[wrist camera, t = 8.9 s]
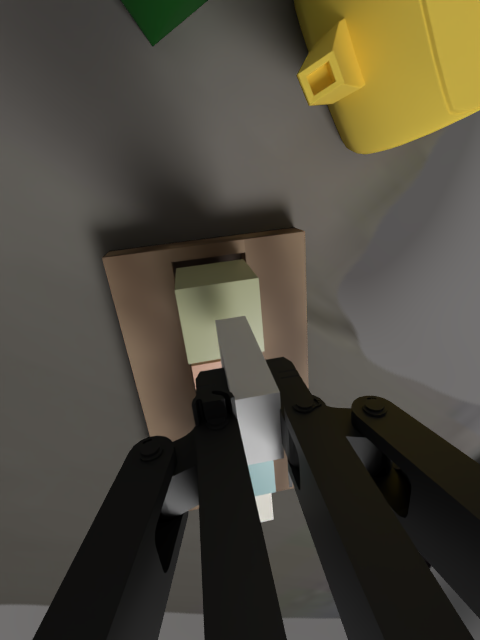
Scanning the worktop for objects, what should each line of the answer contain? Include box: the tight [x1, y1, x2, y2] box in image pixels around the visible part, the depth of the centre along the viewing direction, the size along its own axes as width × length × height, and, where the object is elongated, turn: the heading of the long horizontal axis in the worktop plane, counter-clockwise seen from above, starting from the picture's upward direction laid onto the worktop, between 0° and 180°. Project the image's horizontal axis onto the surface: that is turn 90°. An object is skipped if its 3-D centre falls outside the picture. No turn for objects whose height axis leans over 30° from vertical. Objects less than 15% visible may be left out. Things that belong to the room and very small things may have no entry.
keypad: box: [102, 227, 308, 511], centre depth 29 cm, size 14×25×2 cm, turn 6°
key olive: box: [175, 259, 265, 364], centre depth 21 cm, size 5×5×5 cm
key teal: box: [248, 460, 276, 496], centre depth 26 cm, size 5×5×5 cm
